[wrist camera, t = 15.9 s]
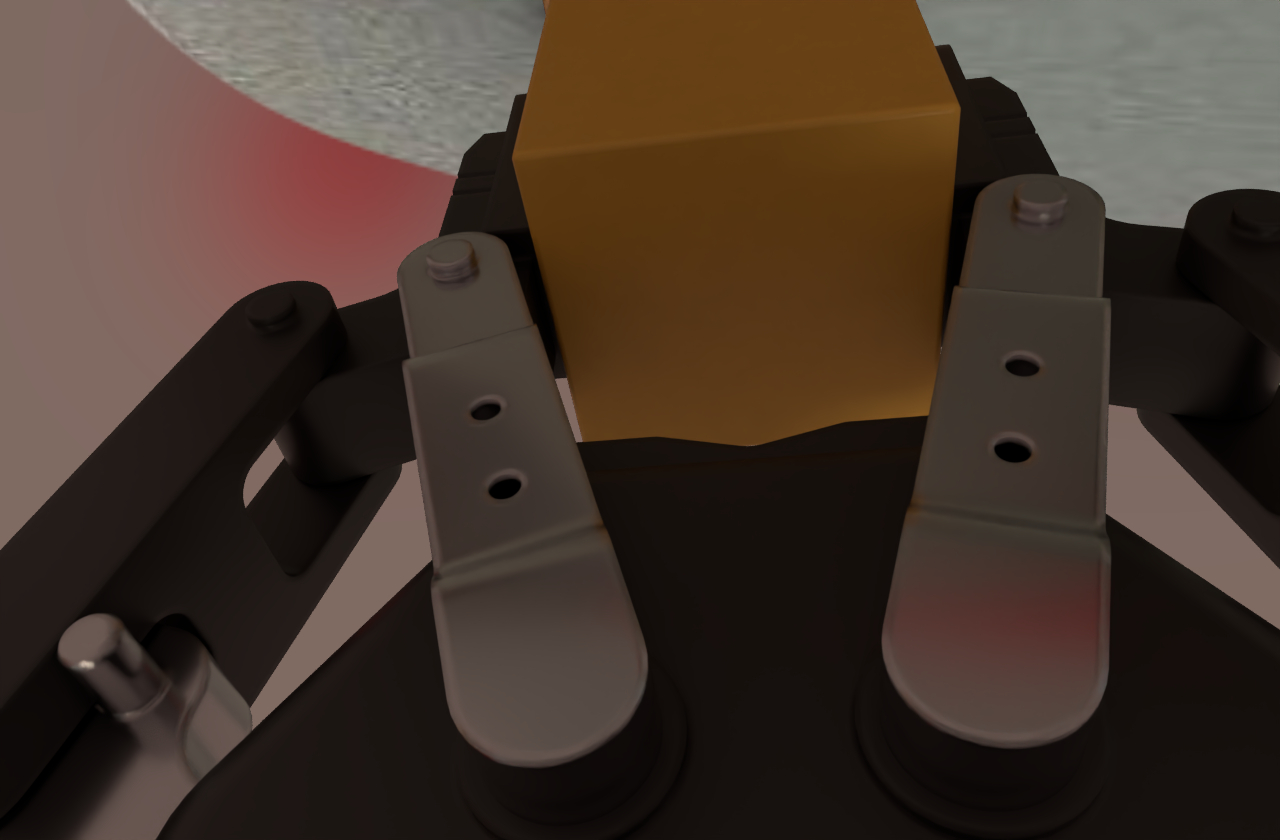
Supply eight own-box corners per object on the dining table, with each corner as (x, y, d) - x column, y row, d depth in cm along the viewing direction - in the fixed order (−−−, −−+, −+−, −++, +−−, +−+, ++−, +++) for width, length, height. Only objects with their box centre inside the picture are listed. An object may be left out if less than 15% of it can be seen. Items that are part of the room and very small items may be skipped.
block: (884, 234, 16) (935, 434, 13) (604, 263, 16) (585, 461, 13) (893, -60, 13) (963, 103, 10) (550, -15, 13) (508, 154, 10)
